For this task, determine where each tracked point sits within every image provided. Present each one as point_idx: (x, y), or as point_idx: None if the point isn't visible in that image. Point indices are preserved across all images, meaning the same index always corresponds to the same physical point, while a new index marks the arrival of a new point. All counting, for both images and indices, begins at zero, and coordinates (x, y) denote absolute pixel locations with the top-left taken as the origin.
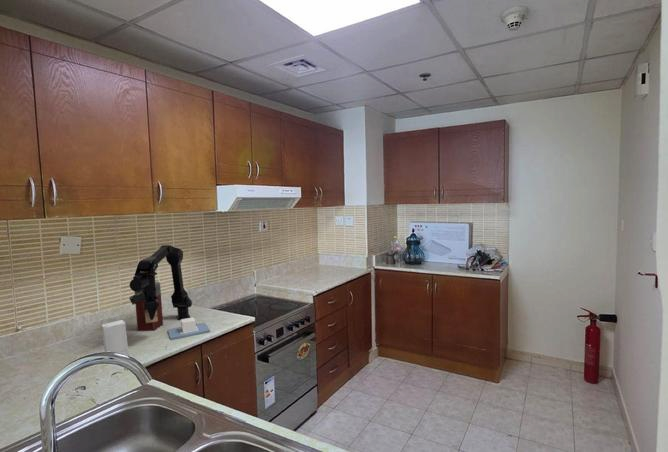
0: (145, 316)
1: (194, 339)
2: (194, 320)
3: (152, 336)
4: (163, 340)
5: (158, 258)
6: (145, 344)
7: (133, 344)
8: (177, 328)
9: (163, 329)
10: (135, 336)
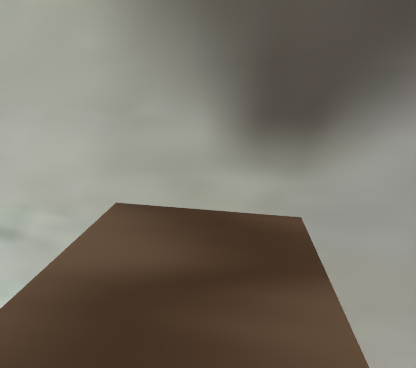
0: (92, 275)
1: None
2: None
3: (272, 191)
4: None
5: None
6: (111, 122)
7: (166, 28)
8: None
9: (388, 284)
10: (395, 57)
